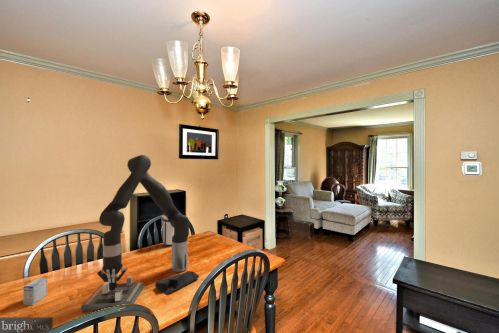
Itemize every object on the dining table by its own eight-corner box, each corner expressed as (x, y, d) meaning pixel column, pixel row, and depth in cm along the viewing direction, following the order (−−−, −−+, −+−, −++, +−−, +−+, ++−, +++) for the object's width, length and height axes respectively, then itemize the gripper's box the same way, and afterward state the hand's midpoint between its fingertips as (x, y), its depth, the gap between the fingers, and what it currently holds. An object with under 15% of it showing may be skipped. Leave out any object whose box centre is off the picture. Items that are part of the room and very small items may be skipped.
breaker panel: (143, 287, 117) (143, 274, 117) (131, 308, 101) (131, 292, 101) (101, 290, 114) (101, 276, 114) (81, 312, 98) (81, 295, 98)
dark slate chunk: (203, 281, 126) (203, 272, 126) (164, 297, 110) (165, 287, 110) (188, 271, 136) (188, 263, 136) (151, 285, 121) (151, 276, 121)
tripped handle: (109, 290, 108) (109, 282, 108) (106, 293, 106) (106, 285, 106) (104, 291, 108) (104, 282, 108) (102, 294, 106) (102, 285, 106)
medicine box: (37, 295, 109) (37, 277, 109) (47, 295, 110) (47, 277, 110) (22, 305, 102) (22, 286, 102) (33, 305, 102) (33, 286, 102)
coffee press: (170, 249, 171) (170, 209, 170) (157, 244, 179) (157, 207, 179) (188, 242, 185) (188, 206, 185) (175, 239, 194) (175, 204, 194)
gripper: (130, 249, 112) (130, 284, 112) (101, 250, 110) (101, 286, 110) (124, 255, 104) (124, 292, 104) (92, 257, 102) (93, 295, 102)
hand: (112, 289), depth 107 cm, fingers closed
